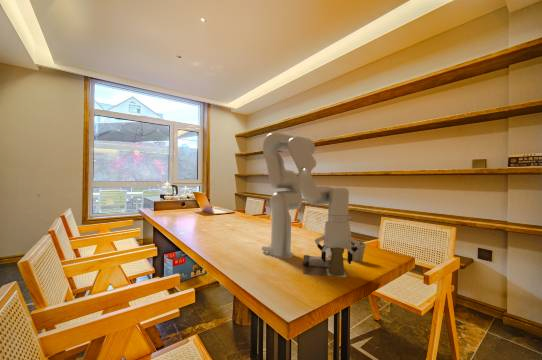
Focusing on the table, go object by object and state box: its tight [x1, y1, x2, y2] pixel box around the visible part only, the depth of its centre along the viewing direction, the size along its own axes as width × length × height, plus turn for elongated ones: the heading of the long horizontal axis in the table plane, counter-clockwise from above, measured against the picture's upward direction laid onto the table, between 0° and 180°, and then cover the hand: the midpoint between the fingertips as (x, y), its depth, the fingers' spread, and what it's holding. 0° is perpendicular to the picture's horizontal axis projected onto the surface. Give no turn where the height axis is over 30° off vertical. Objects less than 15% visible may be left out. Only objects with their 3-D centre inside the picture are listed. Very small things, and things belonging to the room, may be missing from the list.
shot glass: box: [322, 241, 332, 257], centre depth 115 cm, size 7×7×7 cm
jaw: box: [302, 254, 331, 268], centre depth 99 cm, size 15×3×4 cm, turn 82°
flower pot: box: [346, 240, 367, 263], centre depth 110 cm, size 9×9×9 cm
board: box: [302, 255, 349, 278], centre depth 97 cm, size 17×14×4 cm
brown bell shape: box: [329, 247, 345, 276], centre depth 93 cm, size 6×6×11 cm
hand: (336, 262), depth 93 cm, fingers open, 9 cm apart
